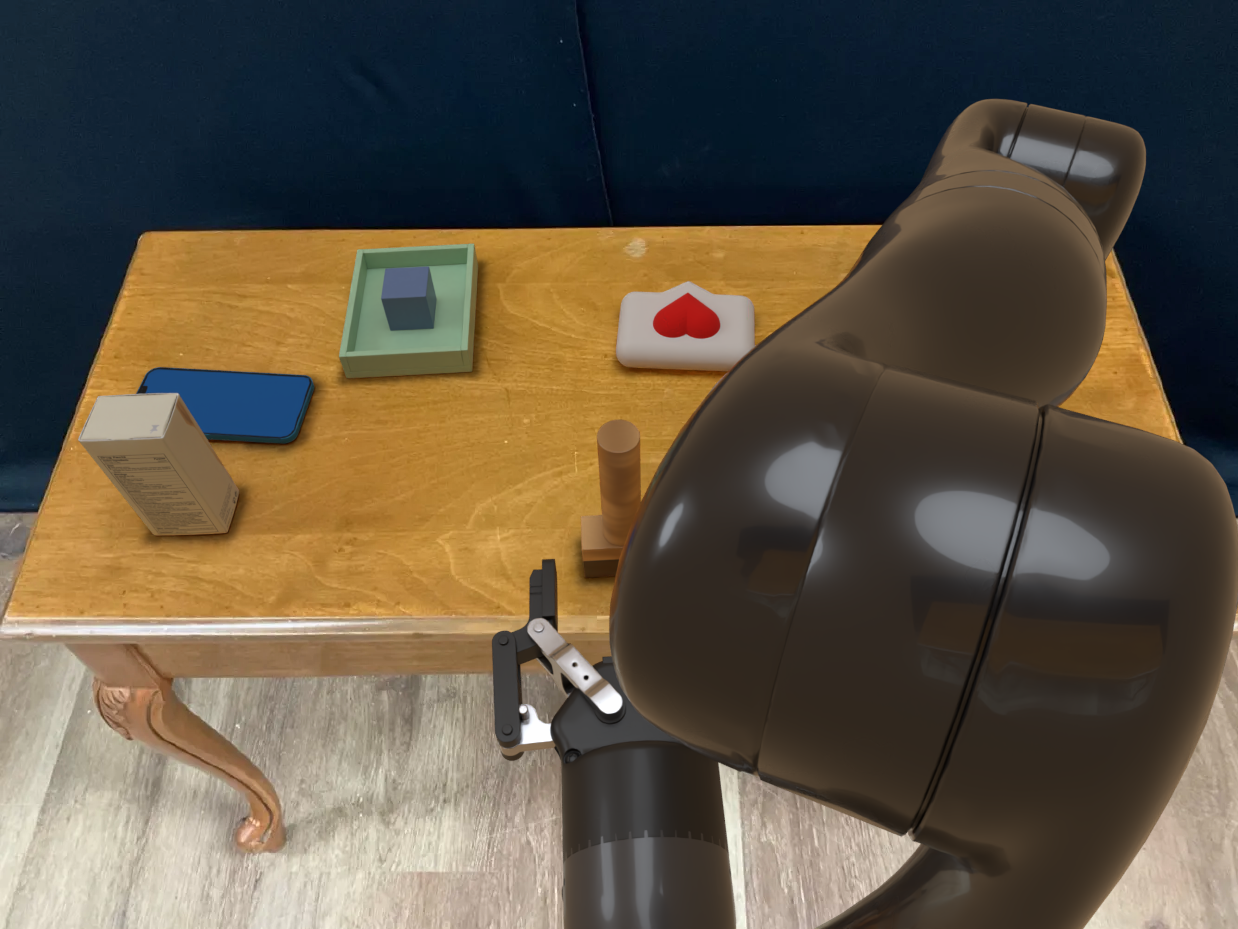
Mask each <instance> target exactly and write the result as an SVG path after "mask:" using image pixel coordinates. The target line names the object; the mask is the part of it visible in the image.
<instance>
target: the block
mask: <svg viewBox="0 0 1238 929" xmlns="http://www.w3.org/2000/svg"><path fill="white" fill-rule="evenodd" d="M436 299H437V298H436V294H435V290H434V285H433V281H432V277H431V273H430V268H429V266H426V267H407V268H387V269H385V274H384V281H383V288H382V295H381V301H382V304H383V307H384V311H385V314H386V318H387V321H388V324H389V328H390V331H395V330H414V329H433V328H434V321H435V310H436Z"/></svg>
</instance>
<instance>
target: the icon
mask: <svg viewBox="0 0 1238 929" xmlns="http://www.w3.org/2000/svg"><path fill="white" fill-rule="evenodd" d="M620 302H621V303H620V308H619V317H618V318H619V319H618V326H617V335H616V346H615V356H616V359H617V360H618V362H619V363H620V364H621V365H622V366H624V367H626V368H635V369H637V368H638V369H658V370H659V369H661V370H685V371H710V372H711V371H712V372H728V371H729V370H730V369H731V368H732V367H733V366H734V365H735V364H736V363H737V362H738V361H739V360H740V359H741V358H742V357H743V356H744V355H745V354H746V353H747V352H748V351H750V350H751V349H752V348H753V347H754V346H756V337H755V336H756V335H755V334H756V330H755V328H756V327H755V326H756V324H755V317H756V316H755V305H754V303H753V301H752V300H751V299H750V298H749V297H748V296H745V295H741V294H740V295H739V294H717V293H716V294H715V293H712V292H711V291H708V290H707V289H705V288H703V287H701V286H699V285H698V284H696V283H693V281H690V280H687V281H685V282H682V283H680V284H677V285H676V286H673V287H671V288H669V289H667V290H665V291H659V292H658V291H657V292H656V291H631V292H628V293H626V294H625V296H624V297H623V298H622V300H621V301H620Z"/></svg>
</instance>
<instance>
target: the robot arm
mask: <svg viewBox="0 0 1238 929" xmlns="http://www.w3.org/2000/svg"><path fill="white" fill-rule="evenodd" d="M1146 166H1147V149H1146V144H1145V141H1144V138H1143V137H1142V135H1141V134H1140V133H1139V131H1137V130H1136V129H1135V128H1133V127H1130V126H1128V125H1126V124H1121V123H1118V122H1114V121H1111V120H1106V119H1100V118H1097V117H1092V116H1089V115H1088V116H1086V115H1084V114H1079V113H1073V112H1070V111H1065V110H1061V109H1055V108H1051V107H1047V106H1043V105H1038V104H1033V103H1030V104H1029V105H1028V103H1027V102H1023V101H1018V100H1013V99H1007V98H1006V99H1005V98H988V99H987V98H986V99H981V100H978V101H976V102H974V103H972V104H970V105H969V106H966V108H965V109H964V110H963V111H961V112H960V113H959V114H958V115H957V116H956V117H955V119H954V120H953V121H952V122H951V123H950V125H948V127H947V129H946V130H945V132H944V134H943V135H942V137H941V139H940V141H939V143H938V144H937V146H936V147H935V150H934V152H933V154H932V156H931V158H930V160H929V163H928V165H927V167H926V169H925V171H924V174H923V176H922V178H921V180H920V182H919V183H918V185H917V186H916V188H914V190H913V191H912V192H911V194H910V195H908V197H907V198H906V199H905V200H904V201H902V203H900V204H899V205H898V206H897V207H896V208H895V209H894V211H892V213H891V214H890V215H889V216H888V217H887V218H886V220H884V222H883V223H882V224H881V226H880V227H879V228H878V229H877V231H876V232H875V234H874V235H873V236H872V237H871V238H870V240H868V243H867V244H866V245H865V247H864V248H863V249H862V252H861V253H860V255H859V257H858V258H857V259H856V261H855V262H854V263H853V265H852V267H851V268H850V270H849V271H848V273H847V274H846V275H845V276H844V277H843V279H842V280H841V281H840V282H839V283H837V284H836V286H834V287H833V288H832V289H831V290H829V291H827V293H825V294H824V295H823V296H821V297H819V298H818V299H816V301H814V302H813V303H811V304H810V305H809V306H807V307H806V308H804V309H803V310H801V311H800V312H799V313H797V314H796V315H795V316H793V317H791V319H789V320H788V321H786V322H784V323H783V324H782V325H781V326H779V327H778V328H776V329H775V330H773V331H772V332H771V333H770V334H769V335H767V336H766V337H764V338H763V339H762V340H761V341H759V342H757V344H755V346H754V347H753V348H752V349H751V350H750V351H748V352H747V353H746V354H745V355H744V356H743V357H742V358H741V359H740V360H739V361H738V362H737V363H736V364H735V365H734V366H733V367H732V368H731V369H730V370H729V371H726V372H725V374H724V375H723V376H722V377H721V378H720V379H719V380H718V381H717V382H716V383H715V384H714V386H712V387H711V390H710V391H709V392H708V393H707V394H706V396H705V397H704V398H703V399H702V401H700V403H699V405H698V406H697V407H696V409H695V410H694V411H693V413H692V414H691V415H690V416H689V417H688V419H687V420H686V422H685V423H684V425H683V426H682V427H681V428H680V430H679V432H678V434H677V435H676V437H675V438H674V440H673V442H672V443H671V444H670V446H669V448H668V449H667V451H666V453H665V455H664V456H663V457H662V459H661V461H660V462H659V464H658V465H657V468H656V470H655V472H654V475H653V476H652V479H651V480H650V483H649V484H648V486H647V488H646V491H645V492H644V495H643V496H642V498H641V503H640V505H639V508H638V510H637V512H636V515H635V517H634V519H633V522H632V524H631V527H630V530H629V533H628V536H627V539H626V541H625V544H624V547H623V550H622V553H621V555H620V558H619V563H618V568H617V572H616V576H614V583H613V587H612V592H611V597H610V602H609V603H610V604H609V614H608V615H609V617H608V638H609V639H608V640H609V641H608V642H609V649H610V655H609V656H602V657H601V658H602V660H601V661H598V662H596V663H594V664H591V663H590V662H589V661H588V660H587V659H586V657H585V656H583V655H582V653H581V652H580V651H579V650H578V648H576V647H575V645H574V644H573V643H571V642H568V641H567V640H566V639H565V638H564V637H563V636H562V634H560V633H559V610H558V609H559V608H558V607H559V605H558V604H559V603H558V602H559V600H558V599H559V598H558V596H559V595H558V572H557V564H556V563H557V562H556V558H545V559H544V558H543V559H541V568H539V569H532V572H531V573H530V575H529V582H528V584H529V588H528V589H529V595H528V597H529V598H528V613H529V614H528V620H527V621H526V623H525V625H524V626H523V627H521V628H519V629H517V630H514V631H510V630H499V631H497V632H496V633H494V635H493V637H492V639H491V657H492V659H491V660H492V686H493V687H492V688H493V691H492V692H493V715H494V716H493V717H494V735H495V737H496V741H497V745H498V748H499V752H500V753H501V754H500V755H501V756H502V758H503V759H504V760H506V761H510V762H515V761H518V760H519V759H521V758H522V757H523V755H524V753H525V752H531V751H540V750H550V749H554V751H555V752H556V754H557V755H558V757H559V760H560V768H561V770H560V773H561V775H560V777H561V779H560V780H561V784H560V785H561V829H562V830H561V845H562V847H561V849H562V850H561V851H562V887H561V900H562V919H563V929H737V914H736V903H735V902H736V901H735V896H734V886H733V885H734V884H733V878H732V877H733V876H732V869H731V861H730V851H729V850H730V849H729V841H728V834H727V832H728V831H727V826H726V816H725V806H724V799H723V790H722V780H721V772H720V764H721V765H723V766H726V767H727V768H730V769H732V770H735V771H736V772H738V773H739V772H740V773H741V774H745V775H747V776H751V777H754V778H756V779H758V778H759V779H760V781H762V782H764V783H767V784H769V785H771V786H774V787H776V788H779V789H781V790H784V791H786V792H788V793H792V794H794V795H796V796H799V797H801V798H804V799H807V800H808V801H810V802H814V803H817V804H819V805H821V806H823V807H824V806H825V807H827V808H829V809H831V810H834V811H836V812H839V813H841V814H844V815H846V816H848V817H851V818H854V819H856V820H858V821H861V822H863V823H866V824H868V825H871V826H874V827H876V828H878V829H881V830H884V831H886V832H889V833H891V834H894V835H896V836H899V837H904V836H906V835H908V838H909V839H910V840H911V841H912V842H914V843H917V844H919V845H918V847H917V848H916V849H915V851H914V852H913V853H912V854H911V855H910V856H909V858H908V859H907V860H905V862H904V863H903V864H902V865H901V866H900V867H899V868H898V870H896V871H895V872H894V873H893V874H892V875H891V876H890V877H889V878H888V879H886V880H885V882H883V883H881V885H880V886H878V887H877V888H875V890H872V892H870V893H869V894H867V895H865V896H864V897H863V898H862V899H860V900H859V901H857V902H856V903H854V904H853V905H851V906H850V907H848V908H847V909H846V910H844V911H842V912H841V913H839V914H838V915H836V916H834V917H832V918H831V919H829V920H828V921H827V920H826V922H824V923H822V924H820V925H818V926H816V927H814V929H1085V927H1086V926H1087V925H1088V923H1089V922H1090V921H1091V920H1092V918H1093V917H1094V915H1095V914H1096V913H1097V911H1098V910H1099V909H1100V907H1101V906H1102V905H1103V903H1104V902H1105V901H1106V899H1107V898H1108V896H1110V894H1111V893H1112V891H1113V890H1114V889H1115V887H1117V885H1118V883H1119V882H1120V880H1122V878H1123V876H1124V875H1125V873H1126V872H1127V870H1128V869H1129V867H1130V866H1131V864H1132V863H1133V862H1134V860H1135V859H1136V857H1137V856H1138V854H1139V852H1140V851H1141V849H1142V848H1143V847H1144V845H1145V844H1146V842H1147V841H1148V839H1149V837H1150V835H1151V833H1152V832H1153V830H1154V828H1155V827H1156V826H1157V823H1158V821H1159V820H1160V818H1161V816H1162V814H1163V813H1164V811H1165V809H1166V807H1167V806H1168V804H1169V803H1170V800H1171V798H1172V796H1173V795H1174V793H1175V791H1176V789H1177V787H1178V785H1179V783H1180V781H1181V780H1182V778H1183V776H1184V773H1185V772H1186V770H1187V768H1188V766H1189V764H1190V761H1191V759H1192V757H1193V755H1194V752H1195V750H1196V749H1197V746H1198V744H1199V741H1200V739H1201V737H1202V734H1203V732H1204V730H1205V728H1206V725H1207V723H1208V720H1209V718H1210V715H1211V711H1212V708H1213V705H1214V703H1215V699H1216V696H1217V695H1218V694H1217V693H1218V691H1219V687H1220V685H1221V681H1222V677H1223V673H1224V669H1225V666H1226V662H1227V658H1228V654H1229V652H1230V651H1229V650H1230V647H1231V642H1232V640H1233V639H1232V638H1233V633H1234V628H1235V623H1236V616H1237V610H1238V521H1237V518H1236V513H1235V509H1234V504H1233V501H1232V498H1231V495H1230V493H1229V489H1228V487H1227V484H1226V482H1225V481H1224V478H1223V477H1222V476H1221V474H1220V473H1219V472H1218V469H1216V467H1215V466H1214V464H1213V463H1212V462H1211V461H1210V460H1208V459H1207V458H1206V457H1205V456H1204V455H1203V454H1201V453H1199V452H1198V451H1197V450H1195V449H1194V448H1192V447H1190V446H1188V445H1186V444H1184V443H1182V442H1179V441H1177V440H1174V439H1171V438H1168V437H1165V436H1162V435H1159V434H1156V433H1153V432H1150V431H1147V430H1144V429H1141V428H1138V427H1135V426H1130V425H1127V424H1122V423H1119V422H1115V421H1111V420H1108V419H1103V418H1099V417H1095V416H1092V415H1089V414H1085V413H1081V412H1077V411H1074V410H1071V409H1067V408H1063V407H1061V406H1062V405H1063V404H1064V403H1065V402H1066V401H1068V400H1069V399H1070V398H1071V397H1072V396H1073V395H1074V393H1075V392H1076V390H1077V389H1078V388H1079V387H1080V385H1082V383H1083V382H1084V380H1085V379H1086V378H1087V376H1088V375H1089V373H1090V371H1091V369H1092V368H1093V366H1094V364H1095V362H1096V360H1097V357H1098V355H1099V353H1100V350H1101V347H1102V344H1103V340H1104V336H1105V332H1106V324H1107V312H1108V311H1107V310H1108V308H1107V306H1108V281H1107V274H1108V273H1107V265H1106V261H1107V259H1108V257H1109V256H1110V254H1111V252H1112V250H1113V249H1114V247H1115V245H1116V243H1117V241H1118V240H1119V237H1120V235H1121V234H1122V231H1123V230H1124V228H1125V227H1126V225H1127V222H1128V220H1129V218H1130V216H1131V213H1132V211H1133V208H1134V206H1135V203H1136V201H1137V198H1138V196H1139V194H1140V191H1141V187H1142V184H1143V179H1144V176H1145V172H1146ZM533 660H536V661H537V662H538V663H539V664H540V666H541V667H542V668H543V669H544V671H546V673H547V674H548V675H549V677H550V678H551V679H552V680H553V681H554V683H555V685H556V687H557V688H558V690H559V691H560V692H561V693H562V695H564V697H565V698H566V699H565V700H564V702H563V703H562V704H561V706H560V707H559V708H558V710H557V711H556V713H555V714H554V715H553V716H552V719H551V722H549V723H548V722H544V721H542V720H541V719H540V718H539V715H538V713H537V710H536V708H535V707H534V706H533V705H532V704H528V703H523V688H522V671H521V670H522V669H521V666H522V665H523V664H525V663H528V662H531V661H533Z"/></svg>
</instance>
